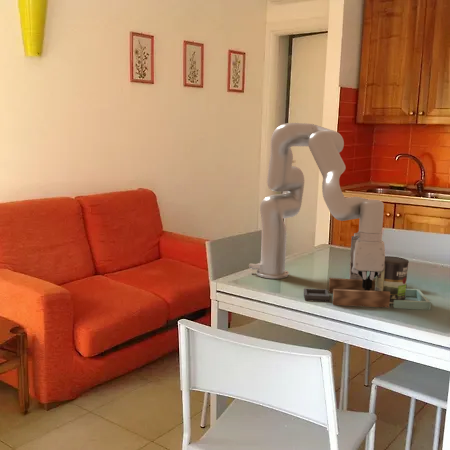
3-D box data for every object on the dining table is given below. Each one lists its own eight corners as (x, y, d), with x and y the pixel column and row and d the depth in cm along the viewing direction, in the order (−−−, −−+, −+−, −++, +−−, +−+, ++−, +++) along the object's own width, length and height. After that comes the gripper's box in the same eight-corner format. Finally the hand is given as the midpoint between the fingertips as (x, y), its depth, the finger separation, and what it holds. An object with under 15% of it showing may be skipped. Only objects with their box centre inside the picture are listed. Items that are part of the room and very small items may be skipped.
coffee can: (410, 300, 186) (414, 260, 184) (394, 306, 180) (398, 264, 177) (384, 293, 194) (387, 254, 192) (367, 298, 187) (370, 258, 185)
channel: (333, 304, 180) (333, 290, 179) (328, 291, 195) (329, 278, 194) (389, 307, 178) (390, 292, 178) (380, 294, 193) (381, 280, 192)
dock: (393, 307, 178) (394, 300, 178) (384, 294, 193) (385, 287, 193) (430, 309, 177) (430, 302, 177) (418, 295, 192) (418, 289, 192)
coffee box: (366, 282, 208) (369, 240, 205) (349, 281, 209) (352, 239, 206) (365, 276, 216) (368, 236, 214) (349, 275, 218) (351, 235, 215)
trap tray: (304, 300, 184) (305, 295, 184) (303, 293, 192) (303, 288, 192) (329, 301, 183) (329, 296, 183) (326, 294, 191) (327, 289, 191)
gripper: (348, 238, 179) (345, 292, 182) (395, 239, 178) (391, 294, 181) (345, 234, 187) (343, 286, 190) (390, 235, 185) (387, 288, 188)
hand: (366, 290), depth 185 cm, fingers closed
